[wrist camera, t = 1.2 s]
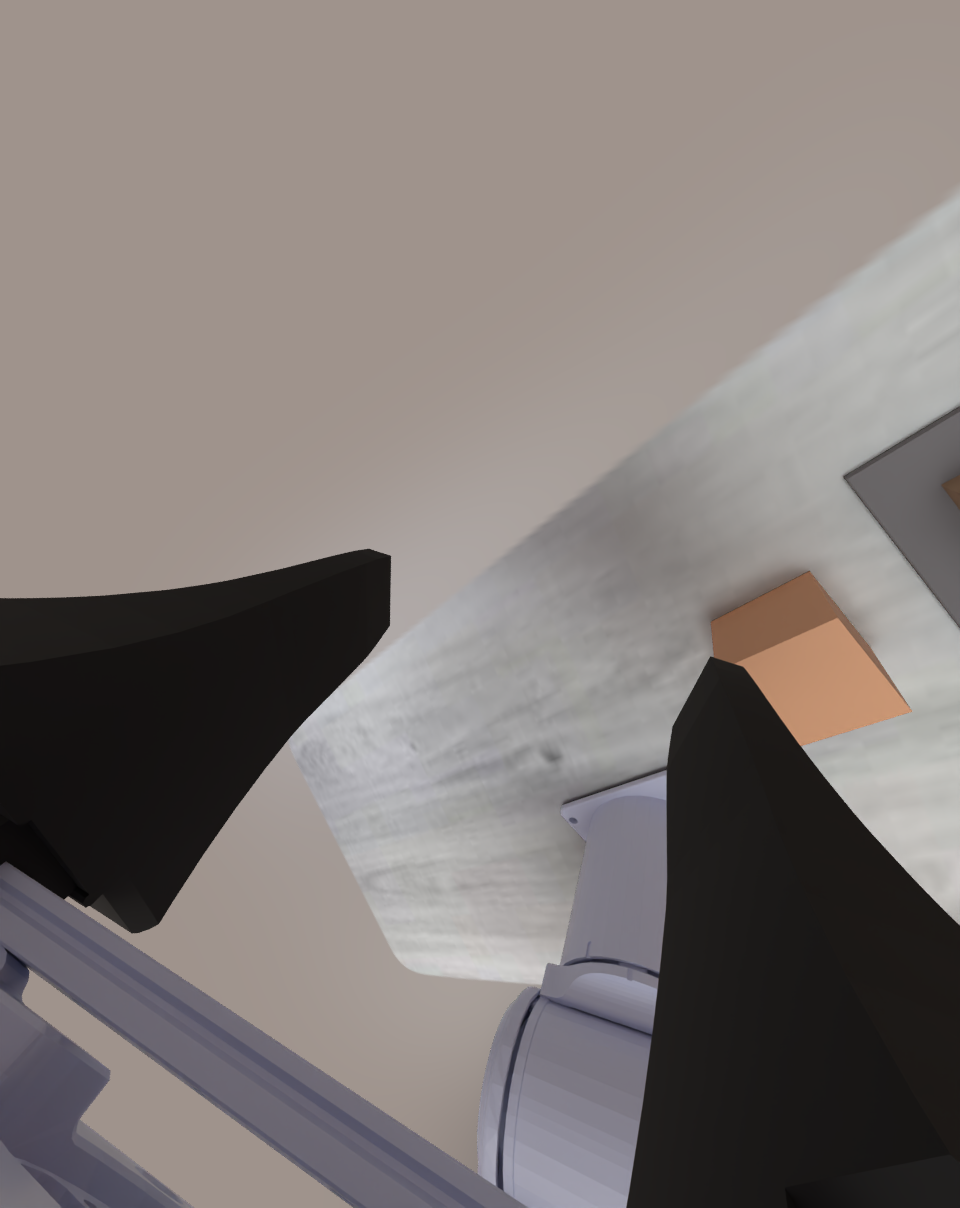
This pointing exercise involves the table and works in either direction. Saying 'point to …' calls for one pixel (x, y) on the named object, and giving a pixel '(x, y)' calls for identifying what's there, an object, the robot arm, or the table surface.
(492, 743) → the table surface
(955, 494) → the slab bottom
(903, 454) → the mat
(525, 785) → the table surface
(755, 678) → the cube
